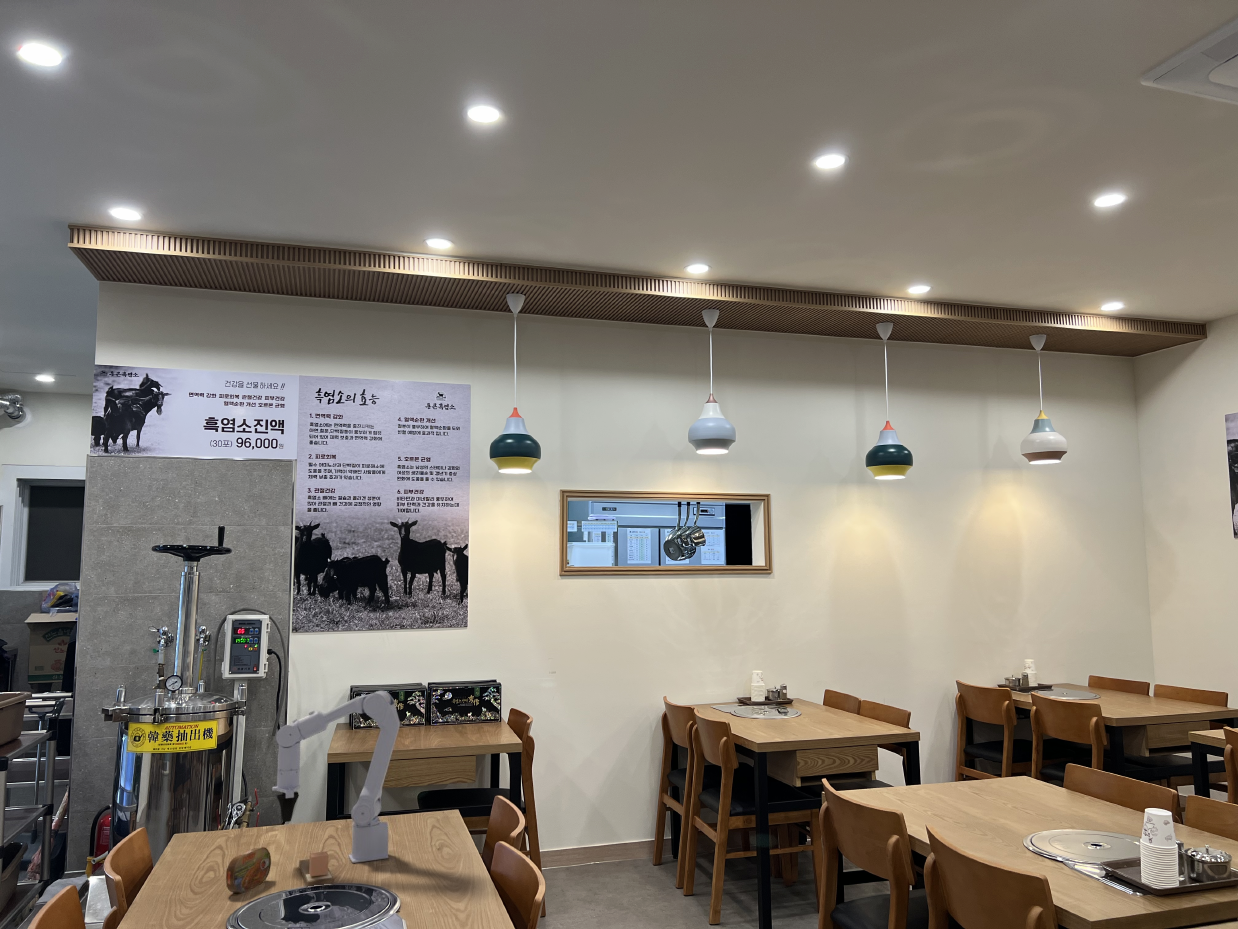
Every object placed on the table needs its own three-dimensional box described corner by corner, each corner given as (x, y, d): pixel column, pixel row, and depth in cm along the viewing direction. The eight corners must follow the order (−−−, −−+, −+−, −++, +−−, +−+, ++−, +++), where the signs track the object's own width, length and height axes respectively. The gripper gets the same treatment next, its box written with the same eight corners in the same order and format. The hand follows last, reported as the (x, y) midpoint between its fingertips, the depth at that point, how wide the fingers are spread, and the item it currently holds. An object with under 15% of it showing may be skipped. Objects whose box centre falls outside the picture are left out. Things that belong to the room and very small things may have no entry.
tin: (234, 897, 203) (235, 859, 204) (222, 897, 204) (224, 859, 205) (271, 878, 217) (273, 843, 219) (260, 878, 218) (262, 843, 220)
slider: (325, 870, 217) (326, 851, 217) (327, 874, 213) (328, 855, 214) (309, 872, 215) (309, 853, 216) (310, 876, 211) (311, 857, 212)
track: (322, 863, 230) (322, 857, 230) (333, 885, 211) (333, 878, 211) (299, 866, 228) (299, 860, 228) (307, 888, 208) (307, 882, 208)
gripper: (271, 767, 242) (269, 818, 239) (274, 774, 229) (272, 828, 226) (297, 764, 245) (296, 814, 242) (302, 772, 232) (300, 825, 229)
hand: (286, 821), depth 234 cm, fingers closed
